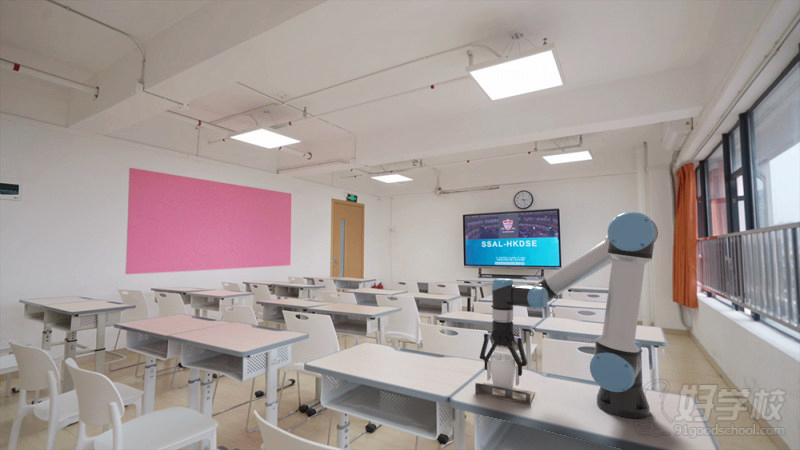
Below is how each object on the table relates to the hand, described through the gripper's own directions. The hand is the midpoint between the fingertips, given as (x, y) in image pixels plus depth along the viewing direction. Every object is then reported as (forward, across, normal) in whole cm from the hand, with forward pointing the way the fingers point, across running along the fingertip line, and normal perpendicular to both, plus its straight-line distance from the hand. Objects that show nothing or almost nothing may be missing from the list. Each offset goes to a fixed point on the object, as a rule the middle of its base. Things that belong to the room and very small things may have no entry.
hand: (503, 381), depth 135 cm
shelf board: (+4, -1, +1) cm, 4 cm away
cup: (+3, 0, 0) cm, 3 cm away
